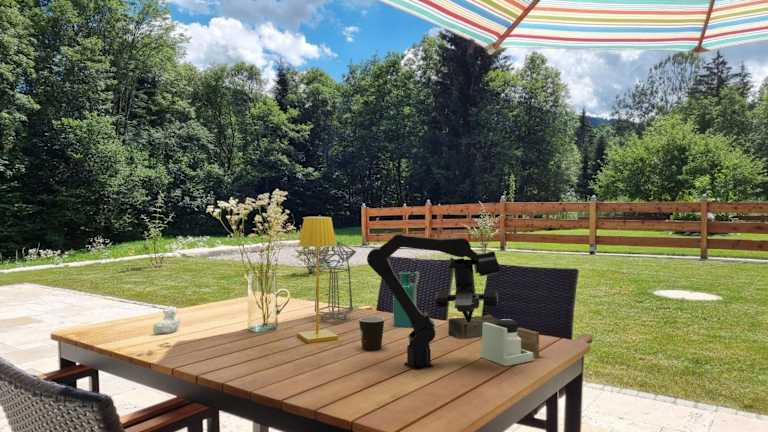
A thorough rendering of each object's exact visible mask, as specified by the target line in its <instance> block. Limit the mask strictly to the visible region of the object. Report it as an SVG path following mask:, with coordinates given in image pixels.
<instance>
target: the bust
mask: <svg viewBox="0 0 768 432" xmlns="http://www.w3.org/2000/svg"><path fill="white" fill-rule="evenodd" d="M177 309H178V308H177V307H176V306H173V305H171V306H168V307H167V308H166V309H163V310H162V313H163V315H164V317H163V318H161V319H158V320H156V322H155V323H154V324H153V327H152V331H153V333H154V334H156V335H159V334H160V335H161V334H173V333H174V332H176V331H177V330H178V329H179V325H180V324H181V319H180V316H178V315H176V314H177V312H178V310H177Z"/></svg>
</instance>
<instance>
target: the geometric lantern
mask: <svg viewBox="0 0 768 432" xmlns="http://www.w3.org/2000/svg"><path fill="white" fill-rule="evenodd" d="M335 240H336V241H337V245H335V246H333V247H332V246H330V247H331V249H330V247H325V246H323V248H322V249H321V250H320V251H319V252H318V253H319V269H318V270H319V273H329V282H328V284H329V286H328V306H325V307H321V308H318V309H319V310H318V311H319V316H320V322H323V323H332V324H337V323H338V324H339V323H342V322H344V321H347V316H348V315H349V314H350V313H352V311H354V309H353V299H352V298H353V296H352V284H351V268H350V265H349V260H350V259H351V258H353V257H354V255H355V254H356V253H357V251H356V250H355V249H352V248H351V247H349V246H347V245H345V243H342V242H340V241H338V240H337V239H335ZM344 247H345V248H347V249H348V250H346V249H344ZM349 250H350V251H349ZM316 251H317V250H316V248H315V249H313V250H311V251H310V252H309V254H311V255H312V256H313V257H315V258H316V259H317V256H318V255H317V254H316ZM329 252H332V253H329ZM335 255H336V256H338V257H339V259H338V260H337V261H336V264H335V266H334V267H332V266H331V264H330V263H329V259H331V258H333V257H334V256H335ZM320 256H321V257H320ZM327 256H328V257H327ZM326 257H327V258H326ZM340 261H342V262H341V263H340V265H339V268H338V267H337V265H338V264H339V262H340ZM344 262H346V263H347V268H341V267H342V265H343V264H344ZM322 263H326V265H327V268H323V269H321V266H322ZM327 270H329V271H327ZM336 270H337V271H336ZM339 270H340V271H339ZM342 272H343V273H344V272H347V273H348V285H349V287H348V288H349V289H348V290H349V307H345V306H340V297H339V296H340V295H339V279H338V277H339V276H338V274H339V273H342ZM315 287H316V289H315V291H316V292H315V296H316V295H317V286H315ZM336 291H337V292H336ZM336 294H337V295H336ZM336 297H337V306H336ZM330 300H331V301H330ZM330 304H331V305H330ZM330 308H331V309H330ZM335 308H337V311H338V312H335V313H334V311H335ZM325 309H328V312H325V311H321V310H325ZM340 309H345V311H342V312H340V311H341V310H340ZM314 312H315V313H316V300H315V303H314ZM320 313H321V314H324V315H321V314H320ZM328 315H329V316H328ZM336 315H337V316H336ZM339 315H340V316H339ZM343 317H344V318H343ZM330 319H332V320H334V321H328V320H330Z"/></svg>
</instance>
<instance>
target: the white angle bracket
mask: <svg viewBox="0 0 768 432" xmlns="http://www.w3.org/2000/svg"><path fill="white" fill-rule="evenodd" d="M481 337H482V344H481V345H482V348H480V351H479V353H480V354H479V355H480V357H481V358H483V359H486V360H488V361H491V362H494V363H496V364H499V365H501V366H505V367H510V366H513V365H519V364H523V363H527V362H532V361H534V358H533V352H529V351H526V350H523V349H521V354H518V355H513V356H508V357H507V328H504V327H501V326H497V325H494V324H490V323H487V322H485V323H482V336H481Z"/></svg>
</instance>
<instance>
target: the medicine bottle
mask: <svg viewBox="0 0 768 432" xmlns="http://www.w3.org/2000/svg"><path fill="white" fill-rule="evenodd" d="M498 326H501V327H504V328H507V357H508V356H513V355H518V354H521V338H520V337H519V336H518V335H517V328H518V322H517V321H516V320H514V319H509V318H507V319H505V318H504V319H500V321H498Z"/></svg>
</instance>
